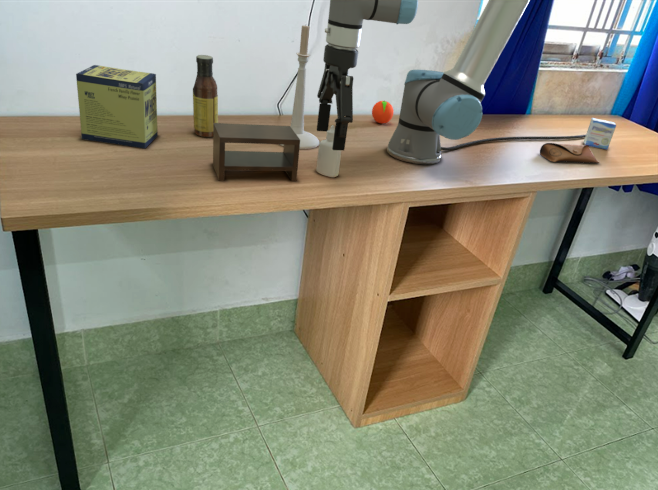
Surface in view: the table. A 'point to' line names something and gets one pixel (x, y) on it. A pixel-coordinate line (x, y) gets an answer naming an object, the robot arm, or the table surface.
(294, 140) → the dark brown wooden stand
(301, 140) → the candlestick
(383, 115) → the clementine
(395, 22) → the robot arm
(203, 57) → the sauce bottle
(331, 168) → the eye dropper bottle
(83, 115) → the protein box
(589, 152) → the sunglasses case
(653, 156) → the table surface
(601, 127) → the medicine box
